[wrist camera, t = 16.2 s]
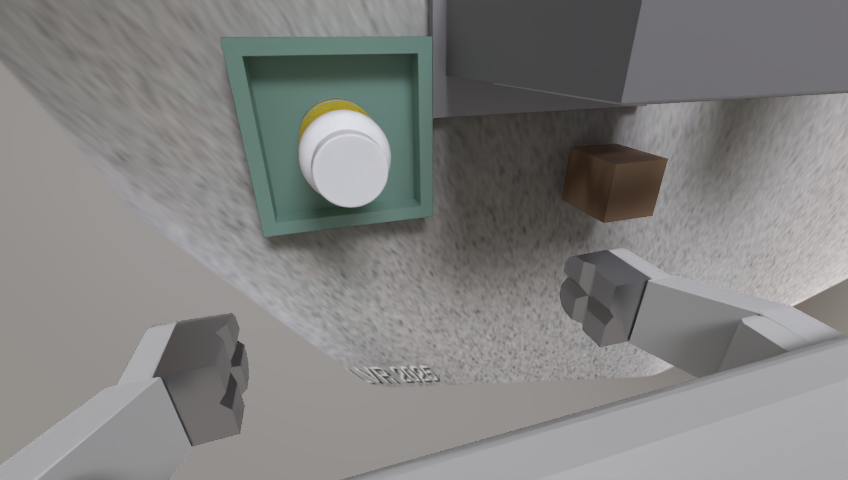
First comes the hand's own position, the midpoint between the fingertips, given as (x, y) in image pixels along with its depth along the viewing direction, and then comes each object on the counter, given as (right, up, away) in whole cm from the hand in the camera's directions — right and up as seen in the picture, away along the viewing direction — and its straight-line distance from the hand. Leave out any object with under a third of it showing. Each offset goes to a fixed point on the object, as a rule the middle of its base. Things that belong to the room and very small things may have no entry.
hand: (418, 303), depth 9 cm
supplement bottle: (-6, +9, +19) cm, 22 cm away
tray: (-6, +10, +20) cm, 23 cm away
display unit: (+10, +18, +21) cm, 29 cm away
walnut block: (+16, +8, +27) cm, 33 cm away
